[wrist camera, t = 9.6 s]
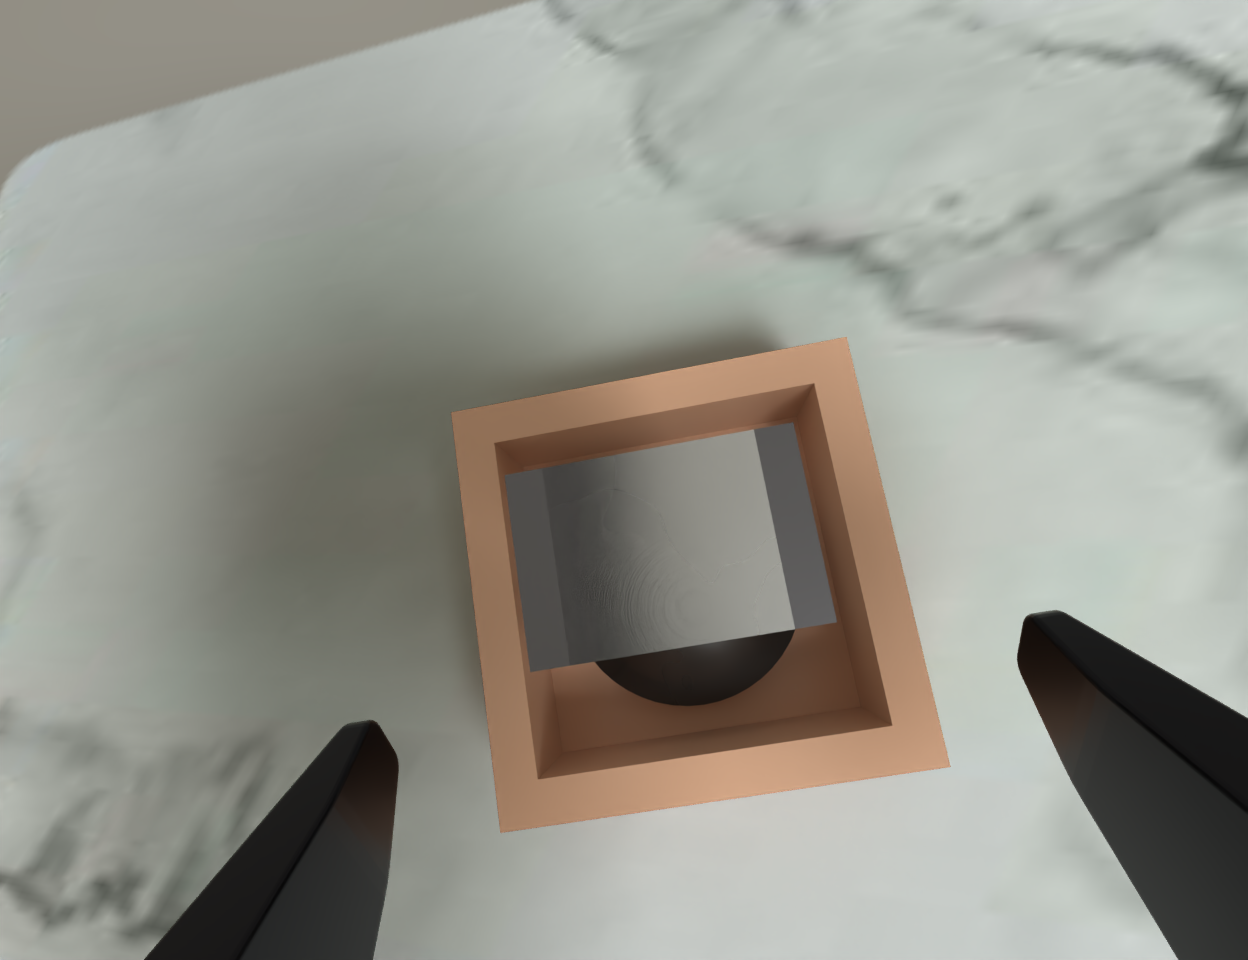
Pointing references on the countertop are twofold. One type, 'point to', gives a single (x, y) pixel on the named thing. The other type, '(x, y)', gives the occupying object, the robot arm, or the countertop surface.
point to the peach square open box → (776, 704)
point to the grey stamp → (671, 563)
